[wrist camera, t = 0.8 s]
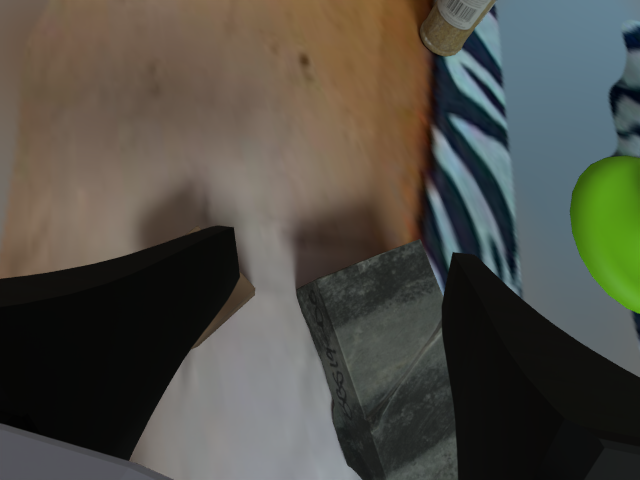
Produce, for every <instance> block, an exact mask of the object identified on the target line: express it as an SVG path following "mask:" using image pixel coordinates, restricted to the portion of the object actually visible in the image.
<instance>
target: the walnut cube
mask: <svg viewBox="0 0 640 480" xmlns="http://www.w3.org/2000/svg"><path fill="white" fill-rule="evenodd" d="M199 230H201V228H200V227H199V226H197V227H195V228H194V229H193V230H191V231H190V232H189V233H187V234H186V235H188V234H191V233H193V232H196V231H199ZM239 272H240V271H239ZM254 295H255V287H254V286H253V285H252V284H251V283H250V282H249V281H248V280H247V279H246V278H245V277H244V275H243V274H242V273H241V272H240V278H239V280H238V282H237V284H236V286H235V288H234V290H233V292H232V294H231V295H230V297H229V299H228V300H227V302H226V303H225V305H224V306H223V307H222V309H221V310H220V311H219V313H218V314H217V315H216V317H215V318H214V319H213V321H212V322H211V323H210V325H209V326H208V327H207V329H206V330H205V331H204V332H203V334H202V335H201V336H200V338H199V339H198V340H197V342H196V343H195V344H194V346H193V347H192V348H191V349H193V348H196V347H198V346H199V345H200V344H201V343H202V342H203V341H205V340H206V339H207V338H208V337H209V336H210V335H211V334H212V333H213V332H214V331H216V330H217V329H218V328H219V327H220V326H221V325H222V324H223V323H224V322H226V321H227V320H228V319H229V318H230V317H231V316H232V315H233V314H234V313H235V312H237V311H238V310H239V309H240V308H241V307H242V306H243V305H244V304H245V303H247V302H248V301H249V300H250V299H251V298H252V297H253V296H254Z"/></svg>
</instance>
